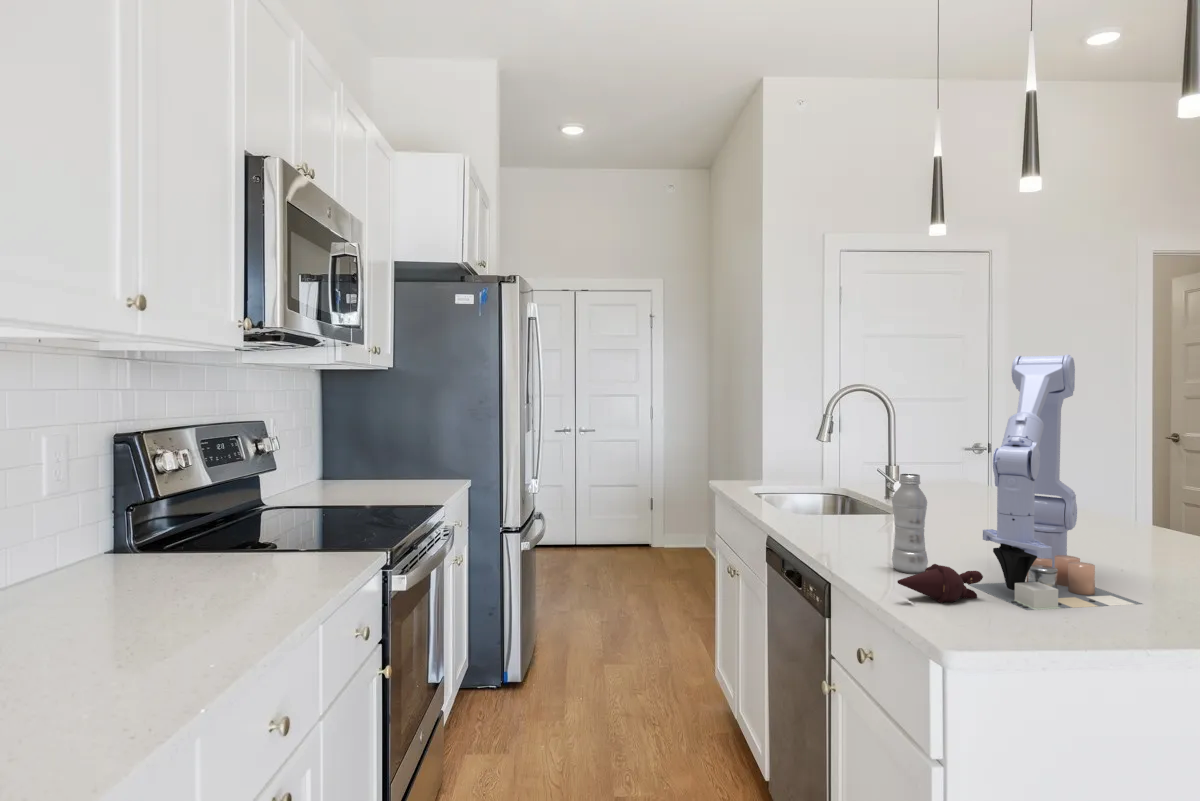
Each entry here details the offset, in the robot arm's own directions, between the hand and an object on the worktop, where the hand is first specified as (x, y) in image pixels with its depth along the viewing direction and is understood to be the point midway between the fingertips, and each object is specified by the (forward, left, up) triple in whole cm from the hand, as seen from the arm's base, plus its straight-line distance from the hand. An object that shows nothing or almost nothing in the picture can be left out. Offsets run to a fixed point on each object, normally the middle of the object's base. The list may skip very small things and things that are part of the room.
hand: (1014, 588), depth 125 cm
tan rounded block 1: (-5, +9, -1) cm, 10 cm away
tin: (-1, +6, -1) cm, 7 cm away
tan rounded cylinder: (0, +13, -1) cm, 13 cm away
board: (0, +7, -2) cm, 7 cm away
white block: (+5, 0, -1) cm, 5 cm away
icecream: (0, -15, -2) cm, 15 cm away
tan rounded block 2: (-5, +14, -1) cm, 15 cm away
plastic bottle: (-18, -9, -2) cm, 20 cm away
